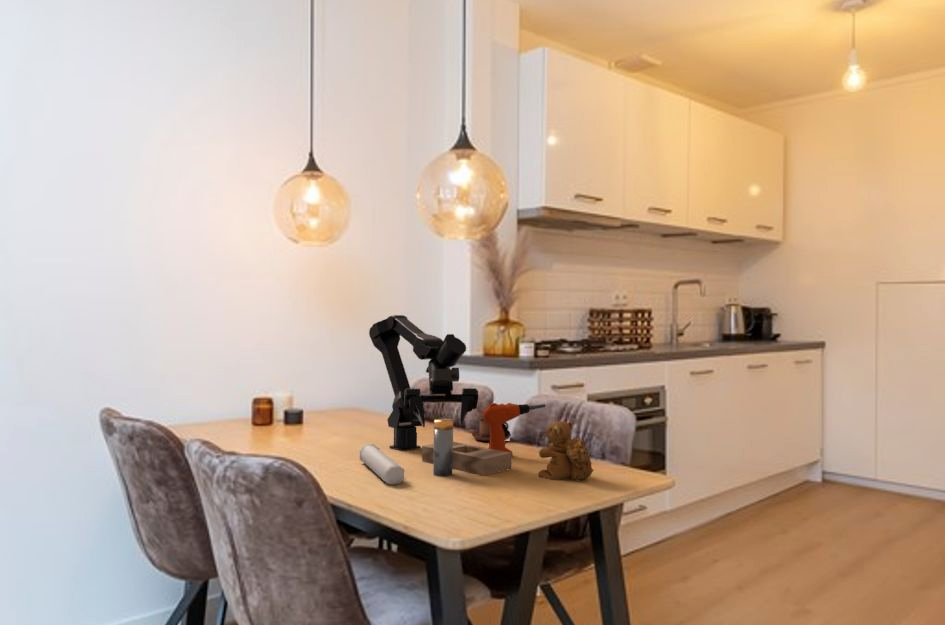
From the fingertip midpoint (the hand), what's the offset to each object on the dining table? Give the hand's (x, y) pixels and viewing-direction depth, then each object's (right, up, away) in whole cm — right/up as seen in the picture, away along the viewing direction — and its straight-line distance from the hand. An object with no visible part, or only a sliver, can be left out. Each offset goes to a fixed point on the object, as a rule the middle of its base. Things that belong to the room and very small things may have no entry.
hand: (442, 425), depth 170 cm
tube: (-14, -11, -4) cm, 19 cm away
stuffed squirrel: (+30, -11, -6) cm, 33 cm away
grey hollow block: (+6, -11, +6) cm, 14 cm away
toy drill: (+19, -11, +18) cm, 28 cm away
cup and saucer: (+13, -11, +41) cm, 45 cm away
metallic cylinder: (0, -11, -4) cm, 12 cm away
